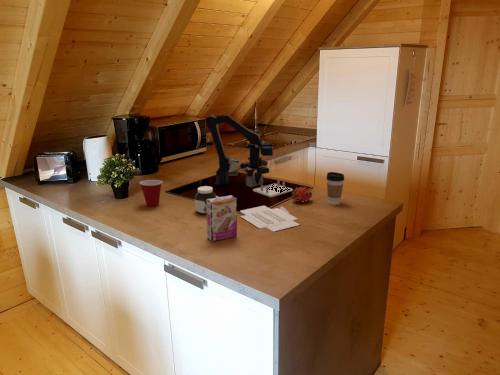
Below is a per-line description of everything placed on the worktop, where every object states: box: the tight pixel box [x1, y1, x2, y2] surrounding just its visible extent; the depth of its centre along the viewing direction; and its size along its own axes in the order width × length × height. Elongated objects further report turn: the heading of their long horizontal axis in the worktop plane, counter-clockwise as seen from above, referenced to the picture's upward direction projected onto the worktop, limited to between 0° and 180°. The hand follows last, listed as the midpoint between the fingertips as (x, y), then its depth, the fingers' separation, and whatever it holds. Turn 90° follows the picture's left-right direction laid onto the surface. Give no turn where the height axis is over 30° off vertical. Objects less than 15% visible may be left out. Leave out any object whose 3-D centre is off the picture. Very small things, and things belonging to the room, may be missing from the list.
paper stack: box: [239, 205, 301, 233], centre depth 177 cm, size 20×28×4 cm
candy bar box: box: [206, 194, 238, 243], centre depth 156 cm, size 11×5×16 cm, turn 118°
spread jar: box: [194, 185, 219, 216], centre depth 185 cm, size 12×11×12 cm
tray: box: [252, 180, 294, 198], centre depth 214 cm, size 16×14×4 cm
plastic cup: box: [139, 179, 164, 208], centre depth 193 cm, size 11×11×12 cm
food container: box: [227, 157, 240, 177], centre depth 246 cm, size 12×6×10 cm, turn 84°
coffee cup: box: [326, 171, 345, 206], centre depth 193 cm, size 8×8×15 cm
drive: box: [245, 174, 264, 188], centre depth 225 cm, size 9×4×5 cm, turn 133°
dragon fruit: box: [291, 186, 313, 204], centre depth 196 cm, size 8×8×12 cm
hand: (254, 182), depth 225 cm, fingers closed on drive, 5 cm apart
